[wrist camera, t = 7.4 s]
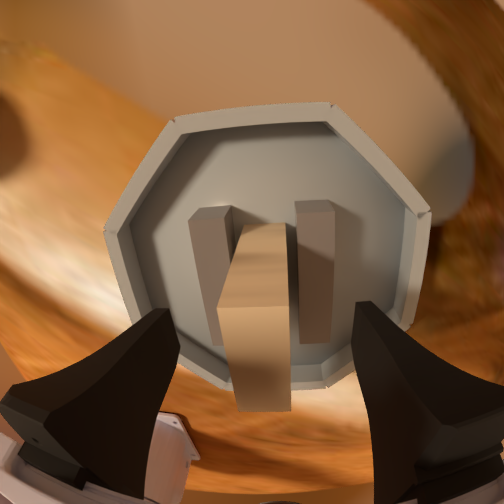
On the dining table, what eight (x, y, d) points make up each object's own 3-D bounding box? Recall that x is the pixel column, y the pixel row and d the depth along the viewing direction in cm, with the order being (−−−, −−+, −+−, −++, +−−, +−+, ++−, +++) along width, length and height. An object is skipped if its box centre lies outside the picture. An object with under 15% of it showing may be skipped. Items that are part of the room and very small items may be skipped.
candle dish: (387, 355, 19) (397, 385, 16) (167, 361, 21) (155, 390, 18) (411, 109, 12) (439, 108, 9) (110, 134, 14) (78, 140, 11)
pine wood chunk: (289, 308, 16) (290, 411, 10) (253, 309, 17) (238, 411, 10) (285, 222, 14) (288, 305, 8) (244, 224, 15) (216, 307, 8)
